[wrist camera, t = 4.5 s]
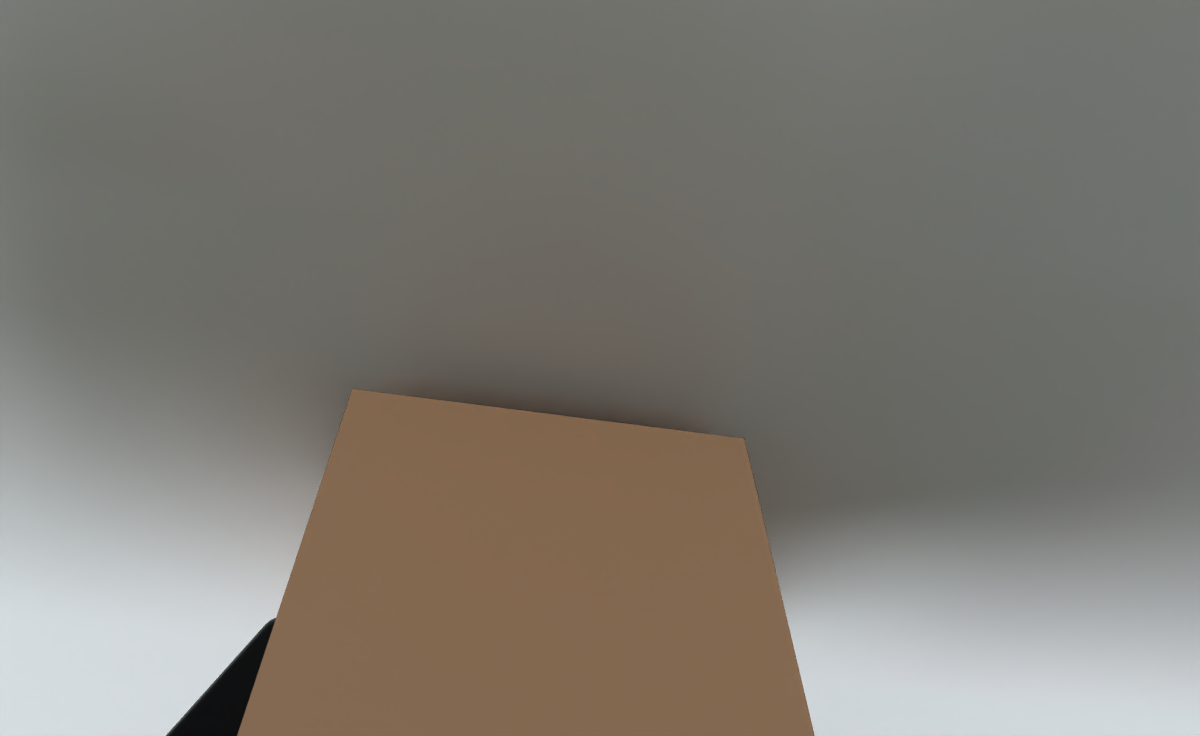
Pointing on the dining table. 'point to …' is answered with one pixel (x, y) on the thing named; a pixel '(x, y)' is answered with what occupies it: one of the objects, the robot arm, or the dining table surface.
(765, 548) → the toy hammer
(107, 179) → the dining table surface
